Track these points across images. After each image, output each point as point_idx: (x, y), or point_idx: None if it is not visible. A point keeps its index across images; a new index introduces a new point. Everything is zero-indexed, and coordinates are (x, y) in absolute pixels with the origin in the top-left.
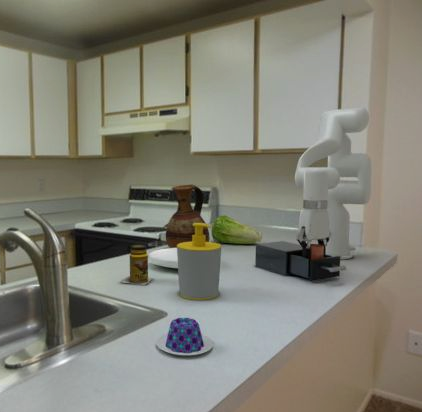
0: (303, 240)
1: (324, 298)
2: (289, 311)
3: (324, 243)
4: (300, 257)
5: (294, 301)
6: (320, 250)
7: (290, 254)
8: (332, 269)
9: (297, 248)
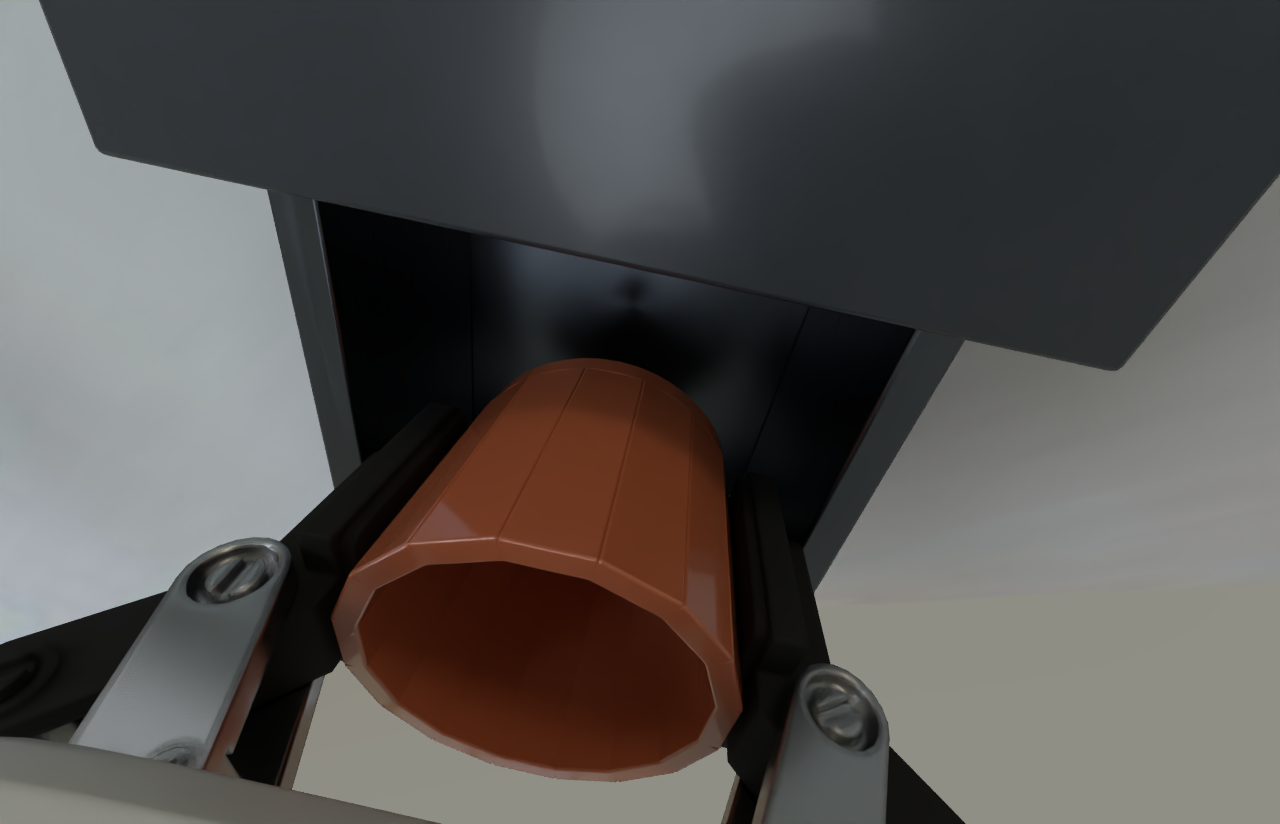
0: (100, 747)
1: None
2: (59, 568)
3: (731, 817)
4: (326, 445)
5: (140, 531)
6: (526, 701)
7: (286, 209)
8: None
9: (679, 83)
